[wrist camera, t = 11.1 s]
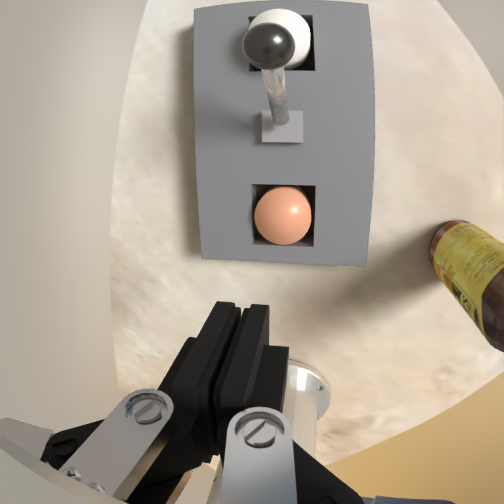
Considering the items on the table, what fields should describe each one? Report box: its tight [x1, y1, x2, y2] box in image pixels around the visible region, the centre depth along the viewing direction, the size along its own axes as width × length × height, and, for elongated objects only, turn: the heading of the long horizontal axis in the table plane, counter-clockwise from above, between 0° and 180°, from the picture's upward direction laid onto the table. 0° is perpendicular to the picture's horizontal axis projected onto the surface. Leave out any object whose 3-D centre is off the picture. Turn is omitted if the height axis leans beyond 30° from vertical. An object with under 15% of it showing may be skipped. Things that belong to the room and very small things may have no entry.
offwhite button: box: [248, 9, 310, 71], centre depth 19 cm, size 4×4×4 cm
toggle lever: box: [242, 22, 295, 126], centre depth 16 cm, size 3×3×9 cm
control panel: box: [193, 0, 375, 267], centre depth 23 cm, size 22×14×4 cm, turn 1°
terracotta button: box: [254, 184, 311, 245], centre depth 25 cm, size 4×4×4 cm
